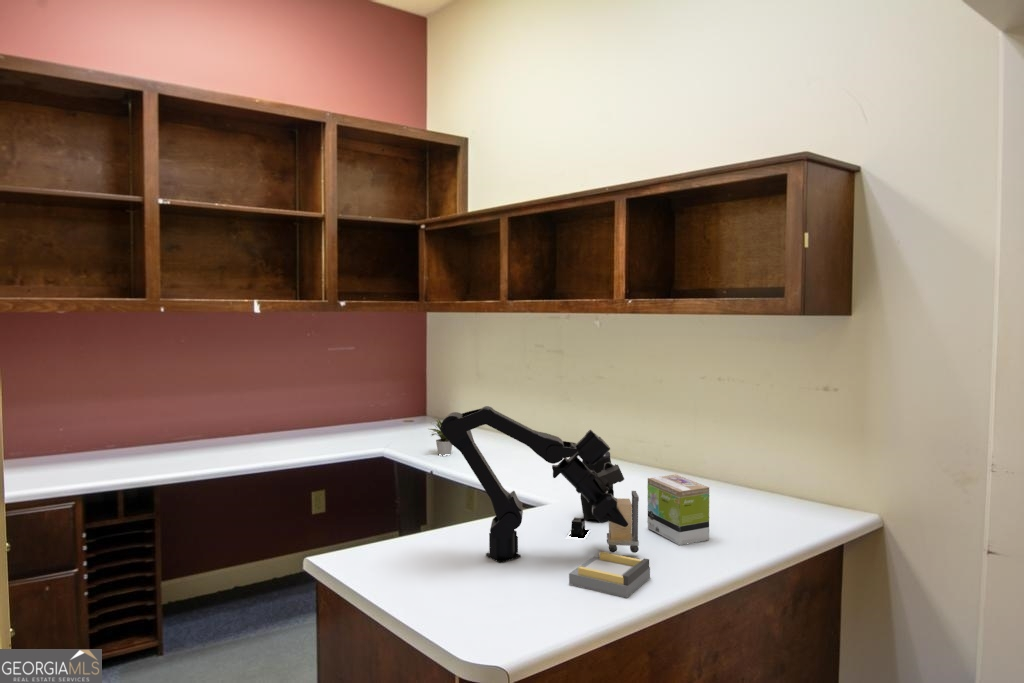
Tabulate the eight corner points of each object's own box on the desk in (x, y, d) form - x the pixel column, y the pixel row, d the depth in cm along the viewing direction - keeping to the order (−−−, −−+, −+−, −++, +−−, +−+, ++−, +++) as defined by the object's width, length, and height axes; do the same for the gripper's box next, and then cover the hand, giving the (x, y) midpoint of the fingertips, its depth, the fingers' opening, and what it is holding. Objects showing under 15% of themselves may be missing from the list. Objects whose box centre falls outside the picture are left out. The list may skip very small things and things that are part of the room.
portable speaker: (592, 512, 212) (592, 448, 211) (617, 518, 206) (617, 452, 205) (575, 519, 205) (575, 452, 204) (600, 525, 199) (600, 457, 198)
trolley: (608, 552, 171) (609, 496, 170) (606, 544, 177) (607, 490, 176) (638, 553, 170) (639, 497, 169) (635, 544, 176) (635, 490, 175)
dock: (569, 584, 157) (569, 564, 157) (594, 565, 168) (594, 547, 168) (627, 598, 150) (627, 577, 150) (650, 577, 161) (650, 558, 161)
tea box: (646, 529, 195) (646, 477, 195) (675, 524, 199) (676, 473, 199) (679, 546, 182) (679, 490, 181) (710, 541, 186) (711, 485, 185)
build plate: (570, 528, 199) (570, 512, 199) (596, 530, 197) (596, 514, 196) (560, 542, 187) (560, 525, 187) (587, 545, 185) (587, 527, 185)
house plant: (432, 450, 303) (431, 412, 303) (463, 451, 301) (463, 413, 301) (423, 457, 289) (422, 418, 288) (456, 458, 287) (456, 418, 286)
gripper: (607, 463, 163) (655, 510, 163) (601, 447, 182) (644, 489, 182) (573, 496, 164) (620, 543, 164) (570, 476, 182) (613, 519, 182)
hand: (625, 522), depth 173 cm, fingers closed on trolley, 5 cm apart
